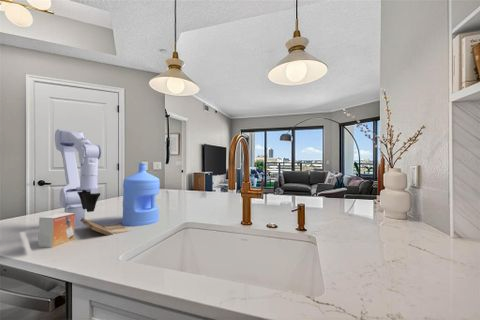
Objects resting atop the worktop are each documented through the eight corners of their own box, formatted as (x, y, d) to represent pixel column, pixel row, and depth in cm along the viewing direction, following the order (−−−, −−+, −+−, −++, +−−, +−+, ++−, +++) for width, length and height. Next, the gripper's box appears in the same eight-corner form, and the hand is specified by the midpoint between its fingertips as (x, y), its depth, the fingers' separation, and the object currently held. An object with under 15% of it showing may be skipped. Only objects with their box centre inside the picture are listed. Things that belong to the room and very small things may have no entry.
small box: (51, 251, 72) (52, 218, 73) (37, 250, 74) (38, 217, 74) (74, 243, 80) (75, 212, 80) (61, 241, 81) (62, 211, 82)
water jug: (113, 226, 101) (115, 163, 101) (139, 218, 116) (140, 163, 116) (143, 230, 97) (144, 163, 97) (165, 221, 112) (167, 163, 112)
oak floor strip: (101, 228, 98) (101, 225, 98) (117, 225, 103) (117, 223, 103) (114, 237, 87) (114, 234, 87) (131, 233, 92) (131, 230, 92)
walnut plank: (80, 220, 93) (82, 217, 93) (99, 228, 97) (100, 225, 98) (91, 229, 82) (93, 225, 82) (111, 236, 86) (113, 233, 87)
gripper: (72, 174, 92) (71, 208, 92) (81, 176, 82) (80, 215, 82) (92, 174, 97) (92, 206, 97) (103, 176, 87) (102, 212, 87)
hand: (88, 210), depth 90 cm, fingers open, 6 cm apart
